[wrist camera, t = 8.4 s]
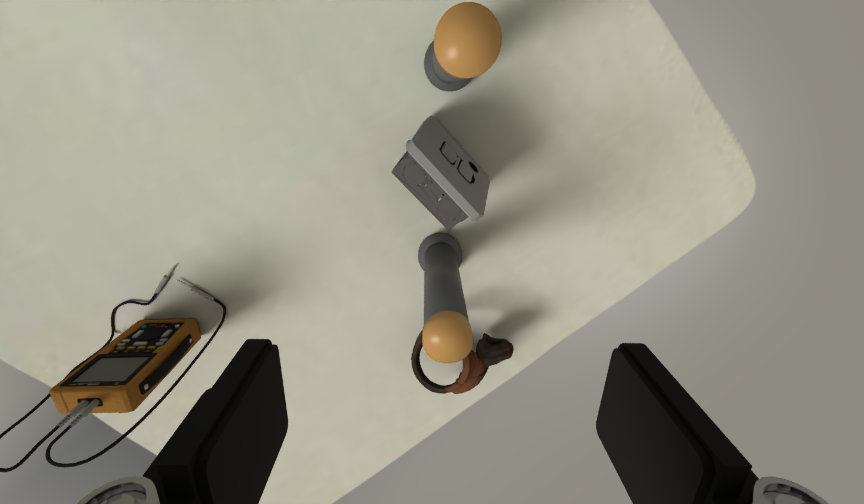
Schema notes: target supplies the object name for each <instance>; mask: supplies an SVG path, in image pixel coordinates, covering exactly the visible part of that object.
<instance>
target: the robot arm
mask: <svg viewBox="0 0 864 504" xmlns="http://www.w3.org/2000/svg"><path fill="white" fill-rule="evenodd" d="M287 429H288V416H287V409H286V401H285V394H284V387H283V379H282V372H281V364H280V357H279V350H278V346H277V345H272V342H271V341H270V340H269V339H247V340H246V341H245V342H244V344H243V345H242V346H241V348H240V349H239V351H238V352H237V353H236V355H235V356H234V358H233V359H232V360H231V362H230V363H229V365H228V366H227V367H226V369H225V370H224V372H223V373H222V374H221V376H220V377H219V379H218V380H217V381H216V383H215V384H214V385H213V387H212V388H210V389H208V390H206V391H205V392H204V393H203V394H202V396H201V397H200V398H199V400H198V401H197V402H196V404H195V405H194V406H193V408H192V409H191V411H190V412H189V413H188V415H187V416H186V417H185V419H184V420H183V421H182V423H181V424H180V426H179V427H178V428H177V430H176V431H175V432H174V434H173V435H172V436H171V438H170V439H169V441H168V442H167V443H166V445H165V446H164V447H163V449H162V450H161V451H160V453H159V454H158V456H157V457H156V458H155V460H154V461H153V462H152V464H151V465H150V466H149V468H148V469H147V471H146V472H145V473H144V475H143V476H128V477H123V478H119V479H116V480H114V481H111V482H108V483H106V484H104V485H102V486H100V487H99V488H97V489H95V490H93V491H92V492H91V493H89V494H88V495H87V496H85V497H84V498H83V499H82V500H80V501H79V502H78V503H77V504H258V503H259V501H260V498H261V496H262V493H263V491H264V488H265V486H266V483H267V481H268V478H269V476H270V473H271V471H272V468H273V466H274V463H275V461H276V458H277V456H278V453H279V451H280V448H281V446H282V443H283V441H284V438H285V436H286V433H287ZM596 429H597V433H598V436H599V438H600V440H601V441H602V444H603V446H604V448H605V450H606V452H607V453H608V456H609V458H610V460H611V462H612V463H613V465H614V467H615V469H616V471H617V473H618V475H619V477H620V479H621V481H622V483H623V485H624V487H625V489H626V491H627V493H628V495H629V497H630V499H631V501H632V502H633V504H828V503H827V502H826V501H825V500H823V499H822V498H821V497H819V496H818V495H816V494H815V493H814V492H812V491H810V490H809V489H807V488H805V487H803V486H801V485H799V484H797V483H794V482H792V481H789V480H786V479H782V478H777V477H763V478H761V479H758V477H757V476H756V475H755V474H754V473H753V472H752V471H751V468H752V465H751V464H750V463H749V462H748V461H747V460H746V458H745V457H744V456H743V455H742V454H741V453H740V452H739V451H738V450H737V448H736V447H735V446H734V445H733V444H732V443H731V442H730V440H729V439H728V438H727V437H726V436H725V435H724V434H723V432H722V431H721V430H720V429H719V428H718V427H717V426H716V425H715V423H714V422H713V421H712V420H711V419H710V418H709V417H708V416H707V414H706V413H705V412H704V411H703V410H702V409H701V407H700V406H699V405H698V404H697V403H696V402H695V401H694V400H693V398H692V397H691V396H690V395H689V394H688V393H687V392H686V390H685V389H684V388H683V387H682V386H681V385H680V384H679V383H678V381H677V380H676V379H675V378H674V377H673V376H672V375H671V374H670V372H669V371H668V370H667V369H666V368H665V367H664V365H663V364H662V363H661V362H660V361H659V360H658V359H657V358H656V356H655V355H654V354H653V353H652V352H651V351H650V350H649V348H647V346H646V345H644V344H642V343H622V344H620V345H619V347H618V348H616V349H614V350H613V352H612V356H611V360H610V364H609V369H608V373H607V377H606V382H605V387H604V391H603V395H602V399H601V404H600V408H599V412H598V417H597V421H596Z"/></svg>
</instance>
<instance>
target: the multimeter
mask: <svg viewBox="0 0 864 504" xmlns="http://www.w3.org/2000/svg"><path fill="white" fill-rule="evenodd" d="M174 266H175V265H174ZM174 266H173V267H172V268H171V269H170V271H169V273H168V274H167V275H164V278H163V279H162V281H161V282H160V284H159V286H158V287H157V289H156V291H155V294H154V296H153V297H152V299H151V300H150V301H149V302H148V303H141V302H136V301H126V302H123V303H121V304H119V305H118V306H116V307H115V308H114V310H113V312H112V315H111V327H112V335H111V337H110V339H109V340H108V342H107V343H106V344H105V345H104V346H103V347H102V348H101V349H100V350H98V351H97V352H96V353H94V354H93V355H92V356H90V357H89V358H87V359H86V360H84V361H83V362H82V363H80V364H79V365H77V366H76V367H75V368H74V369H73V370H71V371H70V372H69V374H68V375H67V376H66V377H65V378H64V379H63V380H62V381H60V382H59V383H58V384H57V385H55V386H54V387H53V388H52V389H51V390H50V391H49V392H50V393H49V394H48V395H47V396H46V397H45V398H44V399H43V400H42V401H41V402H40V403H39V404H38V405H37V406H35V407H34V408H33V409H32V410H31V411H30V412H29V413H27V414H26V415H25V416H24V417H23V418H21V419H20V420H19V421H18V422H16V423H15V424H13V425H12V426H11V427H9V428H8V429H7V430H6V431H4V432H3V433H2V434H1V435H0V438H2V437H3V436H4V435H5V434H6V433H7V432H9V431H10V430H11V429H13V428H14V427H15V426H16V425H18V424H19V423H20V422H21V421H23V420H24V419H25V418H27V417H28V416H29V415H30V414H31V413H33V412H34V411H35V410H36V409H37V408H38V407H39V406H40V405H42V404H43V403H44V402H45V401H46V400H47V399H48V398H49V397H50V396H51V397H52V399H53V401H54V403H55V405H56V408H57V410H58V412H59V413H61V414H68V415H67V416H66V417H65V418H64V419H63V420H62V421H60V422H59V423H58V424H57V425H56V427H55V428H54V429H53V430H52V431H51V432H49V434H47V435H46V436H45V437H44V438H43V439H42V440H41V441H39V442H38V443H37V444H36V445H35V446H34V447H33V448H32V450H31V451H30V452H29V453H28V454H27V455H26V456H25V457H24V458H23V459H22V460H21V461H20V462H19V463H17V464H16V465H15V466H13V467H11V468H7V469H5V468H0V472H8V471H12V470H14V469H15V468H17V467H18V466H20V465H21V464H22V463H23V462H25V461H26V460H27V459H28V457H29V456H30V455H31V454H32V453H33V452H34V451H35V450H36V449H37V448H38V447H39V446H40V445H41V444H42V443H43V442H44V441H45V440H46V439H47V438H48V437H49V436H51V435H52V434H53V433H54V432H55V431H56V430H57V429H58V428H61V427H62V426H63V425H64V423H66V422H67V421H68V420H69V419H70V418H72V417H75V416H76V415H77V414H78V413H80V415H79V416H78V417H77V418H76V419H74V420H73V421H72V422H71V423H70V424H69V425H68V427H67V428H66V429H65V430H64V431H63V432H62V433H61V434H60V435H58V436H57V437H56V438H55V439H54V440H53V441H52V442H51V443H50V444H49V446H48V448H47V450H46V459H47V461H48V462H49V463H50V464H52V465H54V466H57V467H74V466H77V465H81V464H84V463H87V462H89V461H91V460H93V459H95V458H97V457H98V456H100V455H102V454H103V453H105V452H106V451H108V450H109V449H110V448H112V447H113V446H115V445H116V444H117V443H119V442H120V441H121V440H122V439H123V438H124V437H126V436H127V435H128V434H129V433H131V432H132V431H133V430H134V429H135V428H136V427H137V426H138V425H139V424H140V423H141V422H142V421H143V420H144V419H145V418H146V417H147V416H148V415H149V414H150V413H151V412H152V411H153V410H154V409H155V408H156V407H157V406H158V405H159V404H160V403H161V402H162V401H163V400H164V399H165V398H166V396H167V395H168V394H169V393H170V392H171V391H172V390H173V388H174V387H175V386H176V385H177V384H178V383H179V381H180V380H181V379H182V378H183V377H184V375H185V374H186V373H187V372H188V370H189V369H190V368H191V367H192V365H193V364H194V363H195V361H196V360H197V359H198V358H199V356H200V355H201V354H202V353H203V351H204V350H205V349H206V347H207V346H208V345H209V343H210V342H211V341H212V339H213V338H214V336H215V335H216V333H217V332H218V330H219V329H220V327H221V325H222V324H223V322H224V319H225V315H226V308H225V306H224V304H223V303H221V302H220V301H218V300H216V299H215V298H214V297H212V296H211V295H209V294H207V293H205V292H203V291H201V290H200V289H198V288H196V287H195V286H193V287H191V286H190V285H188V284H186V283H184V282H182V281H180V280H178V281H179V282H180V283H182V284H184V285H186V286H188V287H190V288H191V291H194V292H196V293H198V294H200V295H202V296H204V297H206V298H207V299H210V300H212V301H215V302H217V303H219V304H220V305H221V306H222V307H223V310H224V313H223V318H222V321H221V323H220V325H219V326H218V328H217V329H216V331H215V332H214V334H213V335H212V337H211V338H210V339H209V341H208V342H207V343H206V345H205V346H204V347H203V349H202V350H201V351H200V352H199V354H198V355H197V356H196V357H195V359H194V360H193V361H192V362H191V364H190V365H189V366H188V367H187V369H186V370H185V371H184V372H183V374H182V375H181V376H180V377H179V378H178V380H177V381H176V382H175V383H174V384H173V385H172V387H171V388H170V389H169V390H168V391H167V392H166V393H165V394H164V396H163V397H162V398H161V399H160V400H159V401H158V402H157V403H156V404H155V405H154V406H153V407H152V408H151V409H150V410H149V411H148V412H147V413H146V414H145V415H144V416H143V417H142V418H141V419H140V420H139V421H138V422H137V423H136V424H135V425H134V426H133V427H132V428H130V429H129V430H128V431H127V432H126V433H125V434H124V435H122V436H121V437H120V438H119V439H117V440H116V441H115V442H114V443H112V444H111V445H109V446H108V447H107V448H105V449H104V450H102V451H101V452H99V453H97V454H96V455H94V456H92V457H90V458H88V459H86V460H83V461H80V462H77V463H69V464H61V463H56V462H54V461H53V460H52V459H51V457H50V450H51V447H52V445H53V444H54V443H55V442H56V441H57V440H58V439H59V438H60V437H61V436H63V434H65V433H66V432H67V431H68V430H69V429H70V428H72V427H73V426H74V425H76V424H77V423H78V422H79V420H81V419H82V418H83V417H86V416H87V415H88V414H89V413H116V412H119V413H127V412H132V411H134V410H135V409H136V408H137V407H138V406H139V405H140V404H141V403H142V402H143V401H144V400H145V399H146V397H147V396H148V395H149V394H150V393H151V392H152V391H153V390H154V389H155V388H156V387H157V386H158V384H159V383H160V382H161V381H162V380H163V379H164V378H165V377H166V376H167V375H168V374H169V373H170V372H171V370H172V369H173V368H174V367H175V366H176V365H177V364H178V363H179V362H180V361H181V359H182V358H183V357H184V356H185V355H186V354H187V353H188V352H189V351H190V349H191V348H192V347H193V346H194V345H195V344H196V343H197V342H198V341H199V340H200V339H201V335H200V331H199V327H198V324H197V320H196V319H192V318H188V319H166V320H151V319H144V320H139V321H137V322H136V323H135V324H134V325H132V326H131V327H130V328H129V329H127V330H126V331H125V332H123V333H122V334H121V335H119V336H118V337H117V338H116V339H114V340H113V341H112V342H110V341H111V340H112V338H113V336H114V313H115V311H116V309H117V308H118V307H120V306H122V305H124V304H127V303H135V304H140V305H149V304H150V303H151V302H152V301H153V300H154V298H155V297H156V295H157V293H159V292H160V291H161V289H162V288H163V286H164V284H165V283H166V281H167V280H168V279H169V278H170V277H169V274H170V273H171V271H172V270H173V268H174ZM176 280H177V279H176Z"/></svg>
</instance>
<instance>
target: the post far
mask: <svg viewBox="0 0 864 504" xmlns="http://www.w3.org/2000/svg"><path fill="white" fill-rule="evenodd" d="M418 260H419V264H420V266H421V268H422V269H423V270H424V326H423V341H422V342H423V348H424V351H425V352H426V354H427V355H428V356H429V357H430V358H431V359H433V360H435V361H437V362H440V363H454V362H458V361H460V360H462V359H464V358H465V357H466V356H467V355H468V354H469V353H470V351H471V349H472V347H473V334H472V329H471V325H470V323H469V321H468V315H467V310H466V305H465V299H464V294H463V289H462V284H461V278H460V273H459V266H460V265H461V262H462V251H461V247H460V245H459V243H458V241H457V240H456V239H455V238H454V237H452V236H451V235H448V234H445V233H435V234H432V235H430V236H428V237H427V238H425V239H424V240H423V242H422V243H421V245H420V247H419V252H418Z"/></svg>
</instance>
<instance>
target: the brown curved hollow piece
mask: <svg viewBox="0 0 864 504" xmlns="http://www.w3.org/2000/svg"><path fill="white" fill-rule="evenodd" d="M422 341H423V330H422V331H421V332H420V334H419V336H418V337H417V340H416V342H415V345H414V348H413V353H412V357H411V360H412V368H413V371H414V374H415V376H416V378H417V379H418V380H419V382H420V383H421V384H422V385H423V386H424V387H425V388H427V389H428V390H430V391H432V392H436V393H449V392H453V393H454V394H460V393H464V392H466V391H469V390H471V389H472V388H474V387H475V386H477V385H478V384H479V383H480V381H481V380H482V379H483V377H484V376H485V374H486V372H487V370H488V367H489V366H491V365H494V364H497V363H499V362H501V361H503V360H506V359H509V358H510V357H511V356H512V353H513V350H514V349H513V345H512V343H510V342H509V341H508V340H506V339H499V338H492V337H490V336H489V335H487V334H486V333H484V334H483V338H482V339H480V340H479V341H478V343H477V346H476V353H475V352H474V351H473V350H472V349H471V351H470V353H469V354H468V355H467V356H466V357H465V358H464V359H463V370H462V372H461V373H460V375H459V378H457V379H456V382H454V383H453V384H450V385H447V386H443V385H438V384H436V383H433V382H432V381H430V380H429V379H428V378H427V377H426V376H425V374H424V373H423V371H422V368H421V365H420V359H419V357H420V351H421V348H422V346H423V342H422ZM473 344H474V343H473Z"/></svg>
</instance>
